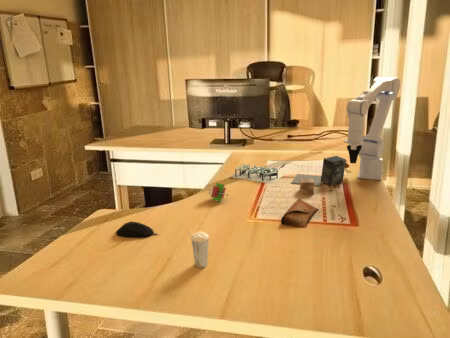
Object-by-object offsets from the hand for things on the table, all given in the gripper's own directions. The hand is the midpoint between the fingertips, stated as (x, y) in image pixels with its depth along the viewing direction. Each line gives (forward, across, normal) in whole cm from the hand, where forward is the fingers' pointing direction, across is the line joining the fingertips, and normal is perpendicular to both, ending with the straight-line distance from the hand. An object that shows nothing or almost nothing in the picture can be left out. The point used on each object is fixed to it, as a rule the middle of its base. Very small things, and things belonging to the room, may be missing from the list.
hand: (353, 162), depth 155 cm
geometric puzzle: (+10, +34, -46) cm, 58 cm away
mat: (+9, 0, -18) cm, 20 cm away
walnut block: (+9, +15, -16) cm, 24 cm away
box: (+9, 0, -8) cm, 12 cm away
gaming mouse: (+10, +68, -59) cm, 91 cm away
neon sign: (+10, -7, -40) cm, 42 cm away
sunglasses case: (+10, +39, -14) cm, 43 cm away
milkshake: (+9, +79, -33) cm, 86 cm away
